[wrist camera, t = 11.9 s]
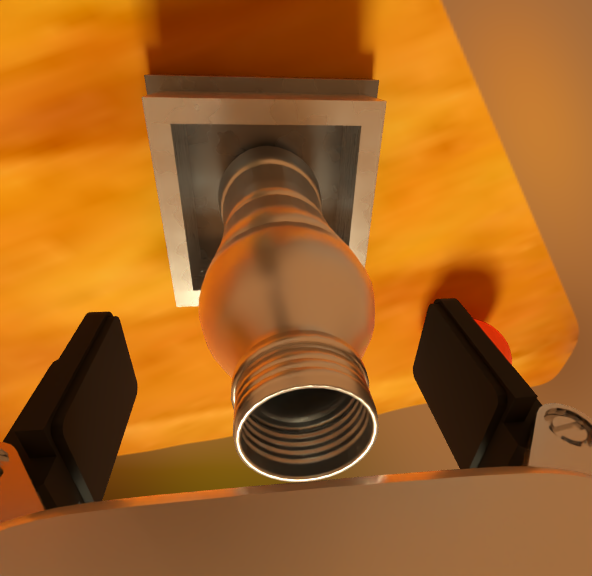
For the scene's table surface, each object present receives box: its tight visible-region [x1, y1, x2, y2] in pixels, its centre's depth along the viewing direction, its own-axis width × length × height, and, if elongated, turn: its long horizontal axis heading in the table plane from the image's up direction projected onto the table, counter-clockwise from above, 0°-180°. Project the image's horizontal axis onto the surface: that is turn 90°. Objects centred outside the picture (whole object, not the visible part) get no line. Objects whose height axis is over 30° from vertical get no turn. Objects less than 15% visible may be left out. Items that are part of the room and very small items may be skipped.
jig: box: [142, 74, 386, 307], centre depth 25 cm, size 14×14×6 cm
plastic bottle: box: [199, 146, 379, 482], centre depth 18 cm, size 6×7×20 cm
